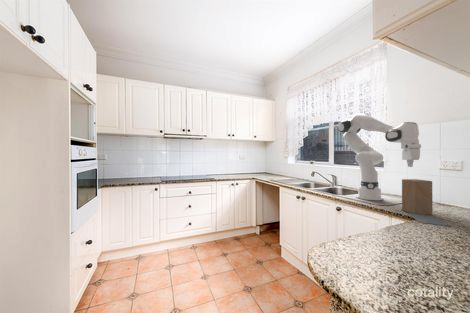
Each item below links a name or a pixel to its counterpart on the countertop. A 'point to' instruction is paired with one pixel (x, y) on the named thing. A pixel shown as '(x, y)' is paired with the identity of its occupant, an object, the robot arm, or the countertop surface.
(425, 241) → the countertop surface
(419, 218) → the mat
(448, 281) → the countertop surface
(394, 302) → the countertop surface
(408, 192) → the wooden block
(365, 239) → the countertop surface
